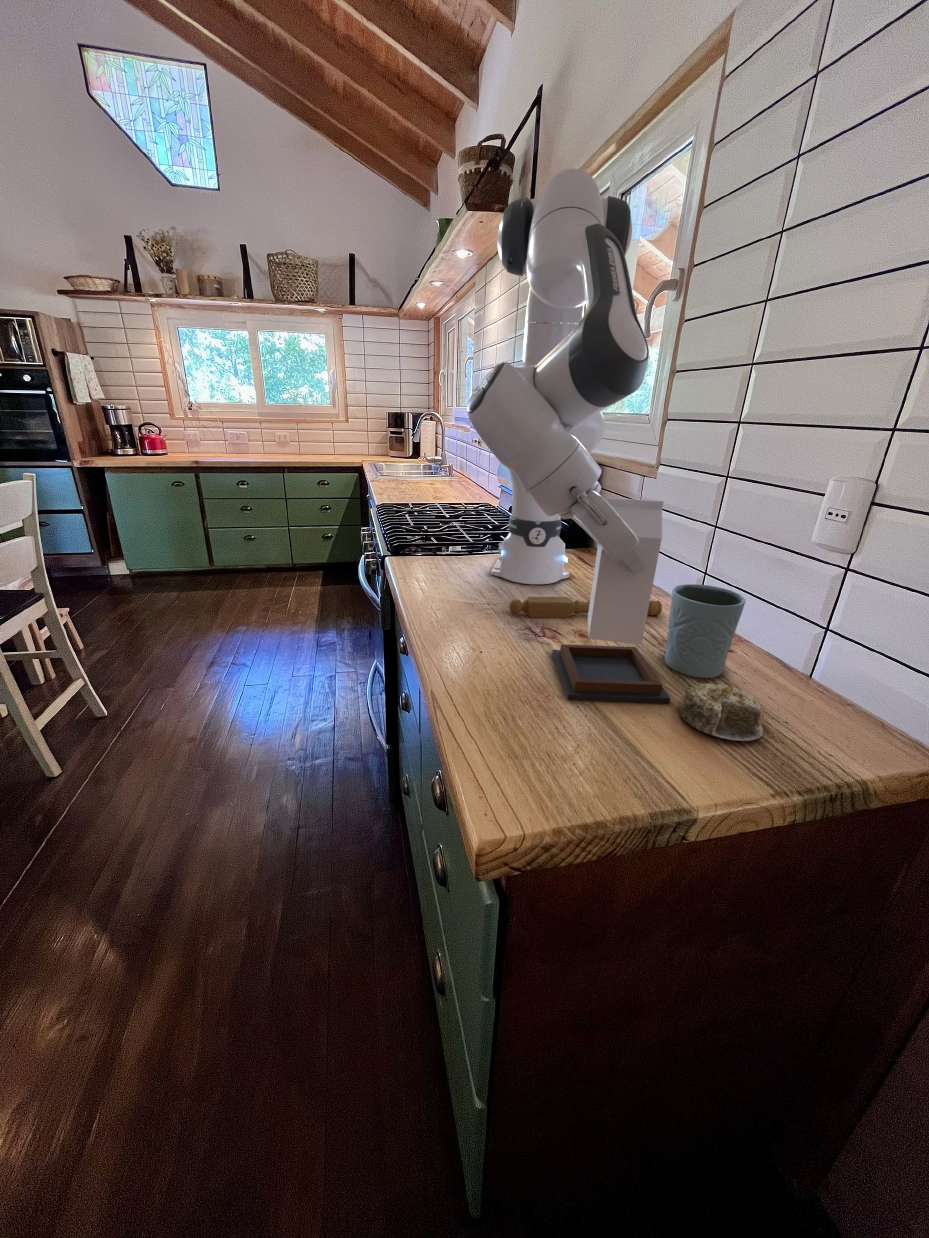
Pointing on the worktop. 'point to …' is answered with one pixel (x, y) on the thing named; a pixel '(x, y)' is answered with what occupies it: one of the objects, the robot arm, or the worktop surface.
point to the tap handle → (561, 607)
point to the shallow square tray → (607, 674)
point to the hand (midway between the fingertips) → (629, 559)
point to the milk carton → (626, 577)
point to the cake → (723, 712)
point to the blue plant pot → (701, 629)
